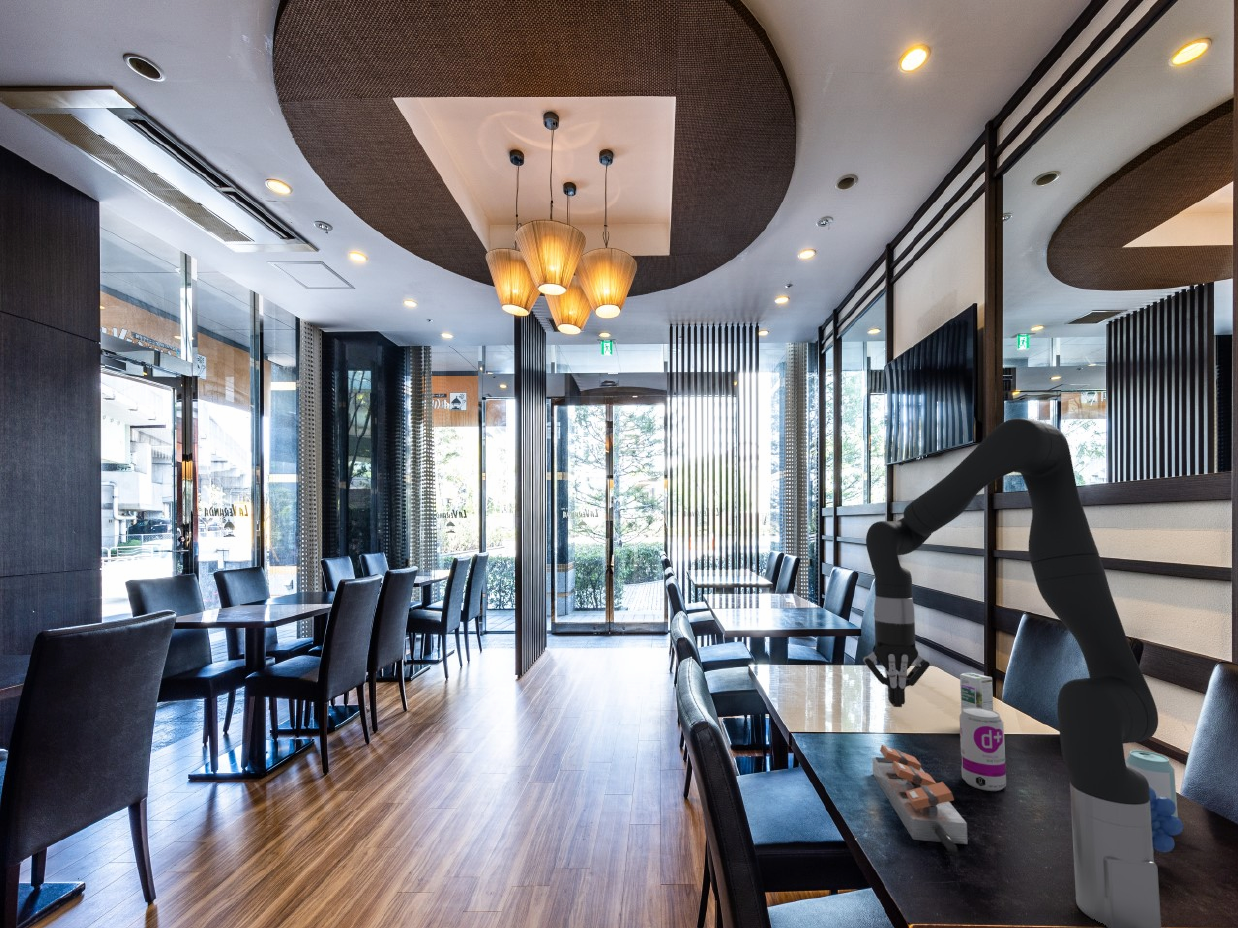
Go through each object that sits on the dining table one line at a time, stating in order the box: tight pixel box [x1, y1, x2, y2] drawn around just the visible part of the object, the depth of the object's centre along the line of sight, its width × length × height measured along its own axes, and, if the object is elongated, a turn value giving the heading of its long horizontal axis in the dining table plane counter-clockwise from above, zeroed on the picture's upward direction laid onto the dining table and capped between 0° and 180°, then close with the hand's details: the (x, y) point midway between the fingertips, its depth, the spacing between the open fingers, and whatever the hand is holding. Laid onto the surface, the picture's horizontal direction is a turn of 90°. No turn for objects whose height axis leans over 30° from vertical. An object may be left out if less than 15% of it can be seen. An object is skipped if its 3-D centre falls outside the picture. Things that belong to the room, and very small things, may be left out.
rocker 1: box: [879, 744, 922, 771], centre depth 131 cm, size 4×7×2 cm, turn 81°
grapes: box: [1149, 787, 1184, 854], centre depth 105 cm, size 12×7×12 cm, turn 62°
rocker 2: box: [892, 761, 937, 786], centre depth 122 cm, size 4×7×2 cm, turn 81°
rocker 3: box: [906, 781, 955, 809], centre depth 113 cm, size 4×7×2 cm, turn 81°
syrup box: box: [959, 672, 994, 714], centre depth 166 cm, size 6×6×14 cm
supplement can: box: [958, 707, 1007, 792], centre depth 132 cm, size 8×8×15 cm
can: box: [1125, 749, 1179, 819], centre depth 117 cm, size 7×7×12 cm
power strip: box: [872, 756, 968, 856], centre depth 119 cm, size 34×9×4 cm, turn 171°
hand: (896, 705), depth 124 cm, fingers closed
